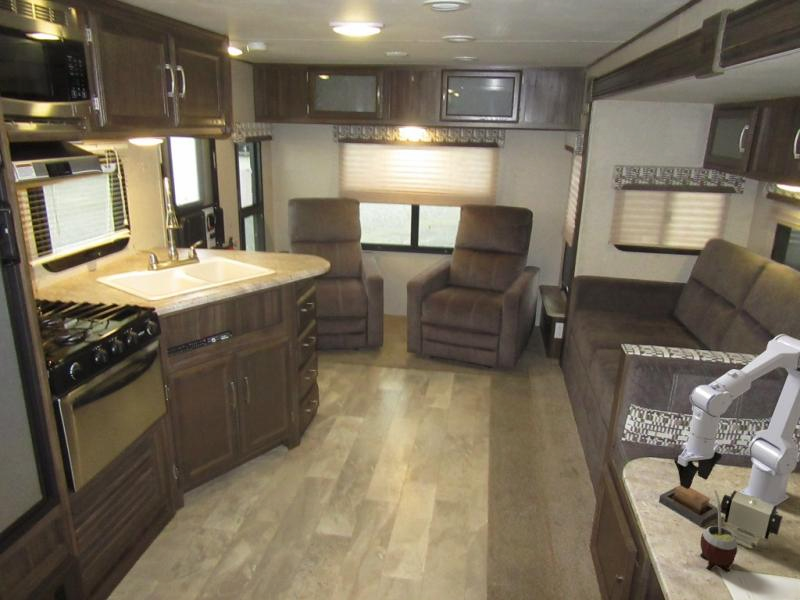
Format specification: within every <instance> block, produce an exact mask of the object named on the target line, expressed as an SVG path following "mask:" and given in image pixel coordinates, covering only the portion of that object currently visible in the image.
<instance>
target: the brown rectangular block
mask: <svg viewBox="0 0 800 600" xmlns="http://www.w3.org/2000/svg"><path fill="white" fill-rule="evenodd" d="M674 488H675V493H674V498H673V500H674V501H676V502H678V503H679V504H681V505H683V506H685V507H686V508H688V509H690V510H691V511H693V512H695V513H697V514H698V515H700V516H701V515H703V514H704V513H706V512H707V510H708V505H709V503H710V497H709V496H707V495H705V494H703V493H701V492H699V491H697V490H695V489H694V488H692V487H690V488H689V489H686V488H685V487H683V486H681V485H680V484H679V485H678V486H676V487H674Z"/></svg>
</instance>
